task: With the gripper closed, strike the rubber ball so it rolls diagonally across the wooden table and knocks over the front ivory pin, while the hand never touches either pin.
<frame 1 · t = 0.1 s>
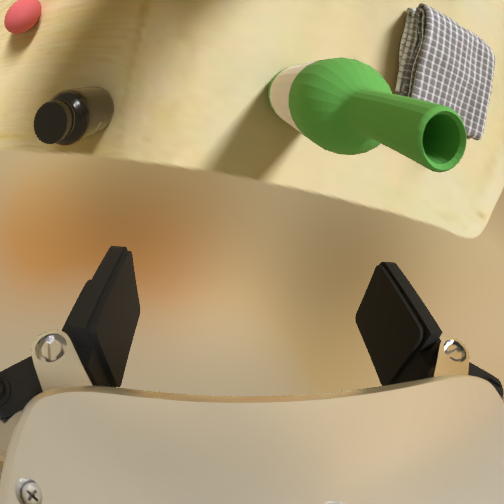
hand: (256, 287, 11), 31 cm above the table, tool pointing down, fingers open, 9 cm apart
supplement bottle: (94, 109, 33), on the table
towel: (432, 73, 32), on the table
wine bottle: (295, 94, 34), on the table
ball: (22, 15, 19), on the table
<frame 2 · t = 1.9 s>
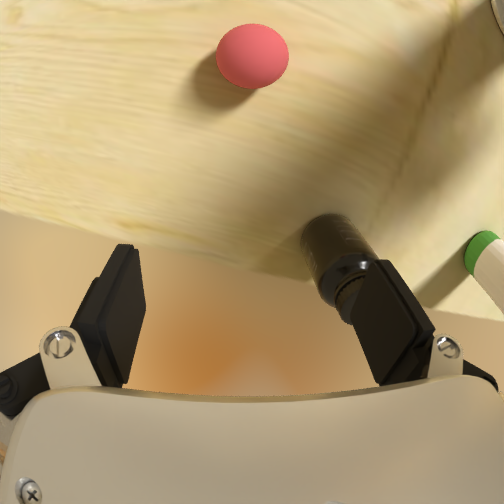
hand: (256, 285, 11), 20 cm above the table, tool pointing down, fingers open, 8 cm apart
supplement bottle: (327, 236, 34), on the table
wine bottle: (477, 248, 37), on the table
ball: (252, 55, 20), on the table
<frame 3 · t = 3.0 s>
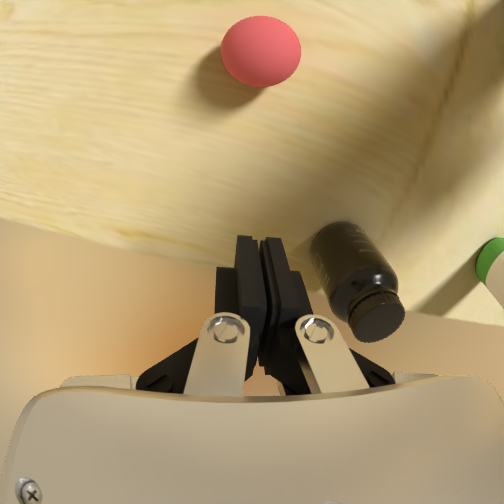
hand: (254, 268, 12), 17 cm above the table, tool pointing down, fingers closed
supplement bottle: (338, 245, 32), on the table
wine bottle: (489, 255, 35), on the table
ball: (261, 51, 18), on the table
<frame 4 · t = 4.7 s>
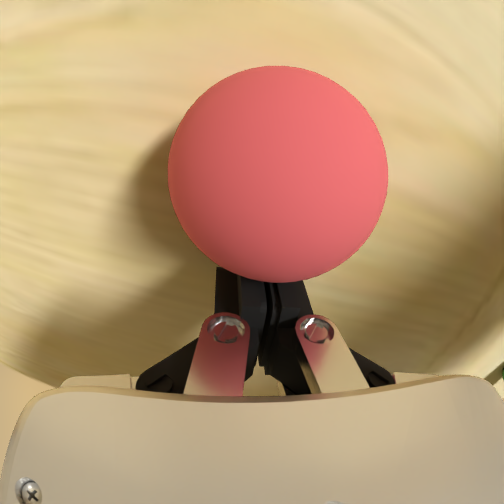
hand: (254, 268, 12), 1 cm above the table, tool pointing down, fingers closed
ball: (278, 172, 8), on the table, touching gripper
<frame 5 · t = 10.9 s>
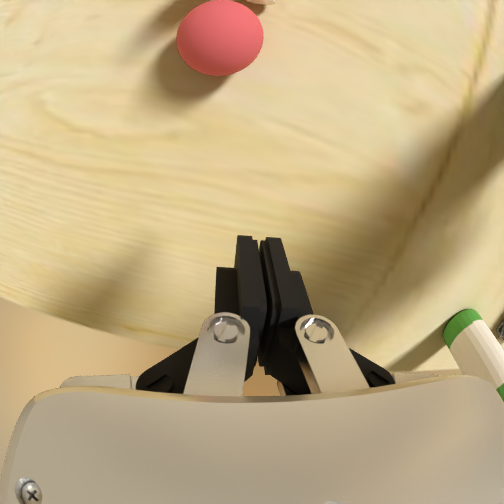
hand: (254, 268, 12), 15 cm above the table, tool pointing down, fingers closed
wine bottle: (457, 322, 40), on the table
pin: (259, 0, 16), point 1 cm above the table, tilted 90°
ball: (219, 37, 16), on the table
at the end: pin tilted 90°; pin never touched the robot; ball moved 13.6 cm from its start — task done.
